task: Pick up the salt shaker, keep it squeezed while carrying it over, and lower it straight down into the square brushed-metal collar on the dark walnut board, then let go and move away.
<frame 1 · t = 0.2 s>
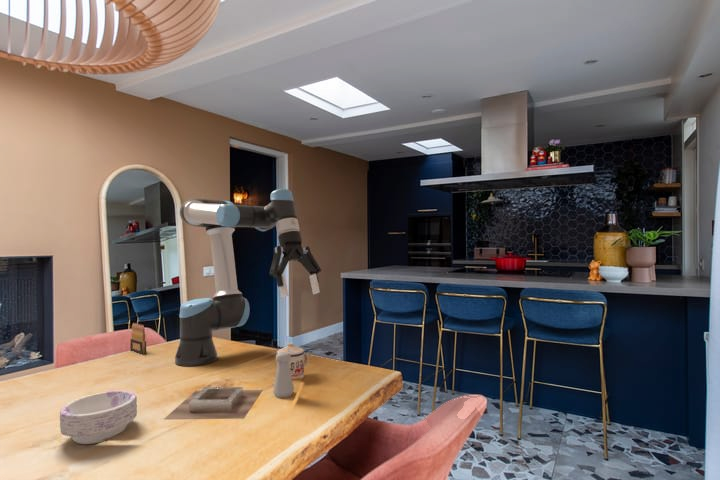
hand: (301, 295, 133), 28 cm above the table, tool tilted 20°, fingers open, 13 cm apart
teacup with lid: (294, 377, 137), on the table
walnut board: (217, 406, 112), on the table
paper bowls: (100, 436, 96), on the table
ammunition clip: (138, 352, 172), on the table
salt shaker: (283, 398, 118), on the table
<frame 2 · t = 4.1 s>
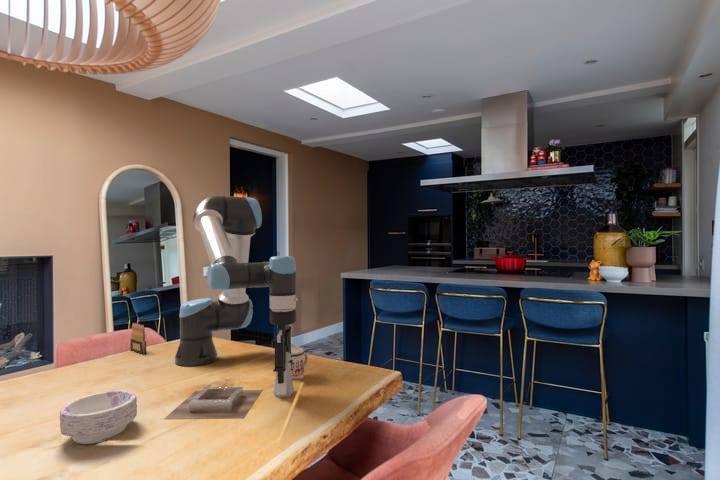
hand: (283, 389, 118), 2 cm above the table, tool pointing down, fingers closed on salt shaker, 6 cm apart
salt shaker: (283, 398, 118), on the table, touching gripper
everything else where it was.
when the fingers open (5 cm above the table, at t = 10.4 s): salt shaker drops 2 cm, resting on walnut board.
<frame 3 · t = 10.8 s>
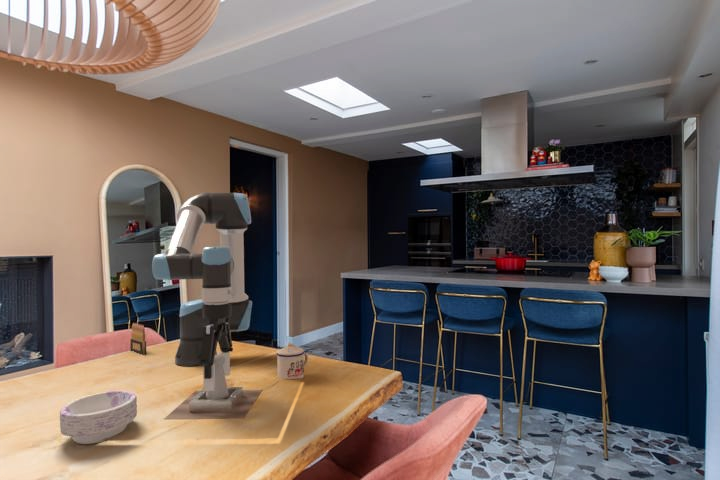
hand: (217, 382, 112), 7 cm above the table, tool pointing down, fingers open, 11 cm apart
salt shaker: (217, 403, 112), point 1 cm above the table, touching walnut board
everything else where it was.
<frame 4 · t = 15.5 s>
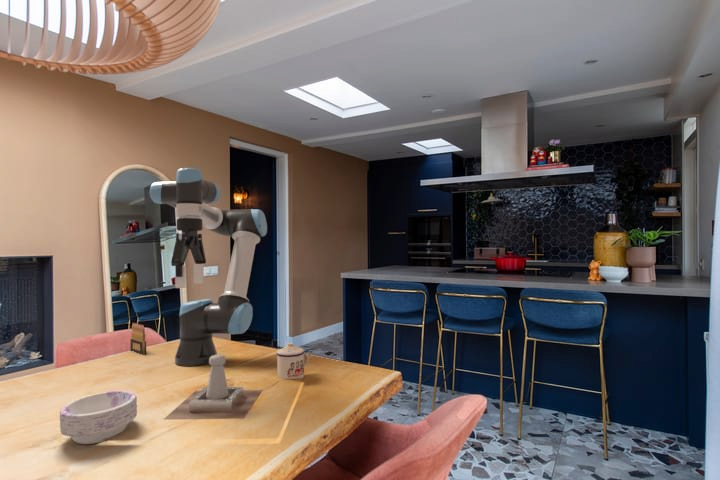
hand: (189, 285, 128), 32 cm above the table, tool pointing down, fingers open, 13 cm apart
nothing on the table moved.
at the end: salt shaker 0.0 cm off-centre on the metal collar, point 0.0 cm above the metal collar's base; salt shaker tilted 0°; the gripper is holding nothing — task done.
